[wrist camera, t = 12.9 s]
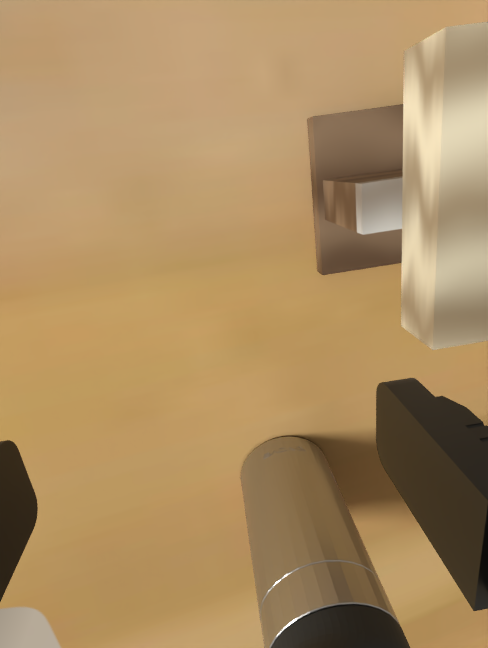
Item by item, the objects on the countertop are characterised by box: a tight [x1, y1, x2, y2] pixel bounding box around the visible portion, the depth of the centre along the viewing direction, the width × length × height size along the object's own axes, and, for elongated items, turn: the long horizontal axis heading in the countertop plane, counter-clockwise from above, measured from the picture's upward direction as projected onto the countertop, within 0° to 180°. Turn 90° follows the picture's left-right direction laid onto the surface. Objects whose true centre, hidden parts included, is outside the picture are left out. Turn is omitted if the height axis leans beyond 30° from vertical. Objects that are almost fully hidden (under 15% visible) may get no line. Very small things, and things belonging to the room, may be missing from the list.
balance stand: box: [307, 104, 403, 275], centre depth 29 cm, size 12×10×10 cm
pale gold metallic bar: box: [401, 22, 488, 350], centre depth 23 cm, size 16×4×4 cm, turn 7°
